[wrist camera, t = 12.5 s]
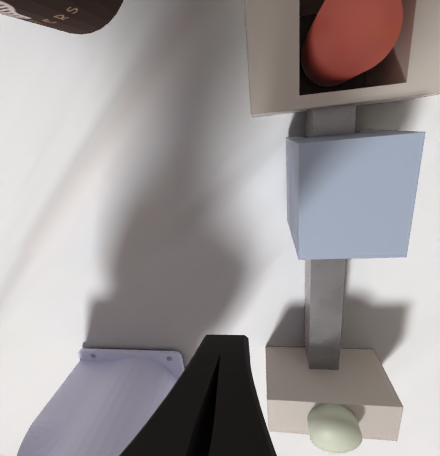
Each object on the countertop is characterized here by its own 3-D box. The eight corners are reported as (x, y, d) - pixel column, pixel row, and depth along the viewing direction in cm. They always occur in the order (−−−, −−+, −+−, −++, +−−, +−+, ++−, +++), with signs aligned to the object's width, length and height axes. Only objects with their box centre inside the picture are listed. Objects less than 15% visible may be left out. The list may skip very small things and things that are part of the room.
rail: (304, 347, 21) (308, 368, 19) (306, 111, 15) (313, 109, 13) (331, 348, 21) (338, 370, 19) (344, 106, 15) (356, 104, 13)
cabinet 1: (253, 117, 16) (251, 114, 12) (247, 13, 14) (242, -34, 10) (404, 100, 14) (462, 90, 10) (418, -17, 13) (495, -85, 9)
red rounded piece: (300, 89, 14) (313, 79, 11) (301, 19, 13) (315, -17, 10) (363, 82, 13) (397, 68, 10) (369, 8, 12) (408, -34, 9)
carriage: (287, 219, 17) (298, 259, 12) (286, 137, 16) (298, 143, 10) (361, 216, 17) (406, 257, 11) (368, 129, 15) (425, 131, 10)
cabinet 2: (267, 374, 23) (269, 447, 17) (265, 346, 22) (267, 414, 16) (370, 379, 21) (404, 459, 16) (373, 349, 20) (412, 424, 15)
